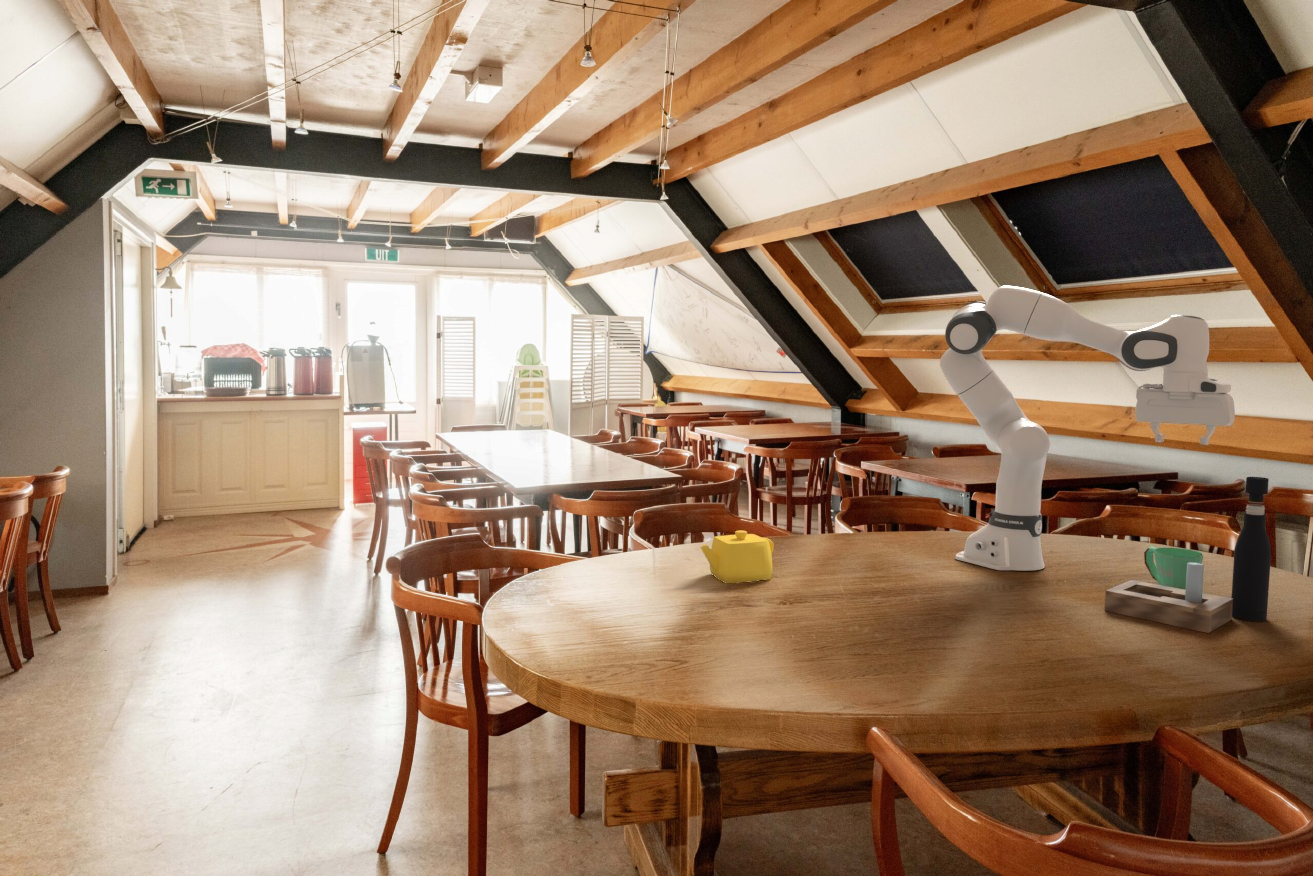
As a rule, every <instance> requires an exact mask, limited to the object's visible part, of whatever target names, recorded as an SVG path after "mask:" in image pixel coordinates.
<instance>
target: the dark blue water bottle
mask: <svg viewBox="0 0 1313 876" xmlns="http://www.w3.org/2000/svg"><path fill="white" fill-rule="evenodd" d="M1245 479H1246V480H1245V493H1246V494H1248V501H1247V503H1249V504H1246V506H1245V508H1246V509H1245V513H1243V514H1244V517H1243V526H1242V527H1241V530H1240V532H1239V533H1238V536H1237V539H1236V543H1235V546H1234V550H1233V551H1234V552H1233V567H1232V568H1233V569H1232V583H1231V595H1230V596H1231V597H1230V598H1232V599H1233V608H1232V618H1235V619H1237V620H1241V621H1246V622H1257V623H1258V622H1259V623H1261V622H1266V621H1267V618H1268V605H1269V604H1268V603H1269V602H1268V601H1269V590H1270V575H1271V574H1270V573H1271V562H1272V561H1271V559H1272V550H1271V543H1270V539H1269V535H1268V533H1267V530H1266V529H1267V528H1266V521H1267V520H1266V519H1267V515H1266V514H1265V510H1266V508H1265V505H1263V504H1264V495H1268V494H1269V482H1270V480H1269V478H1268V477H1262V476H1247V477H1246V478H1245Z"/></svg>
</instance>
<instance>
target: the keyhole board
mask: <svg viewBox="0 0 1313 876" xmlns="http://www.w3.org/2000/svg"><path fill="white" fill-rule="evenodd" d="M1185 591H1186V590H1184V589H1178V588H1173V587H1168V586H1162V585H1160V584H1157V583H1150V582H1145V581H1140V580H1134V579H1131V580H1128V581H1126V582H1124V583H1123V582H1122V583H1120V584H1118V585H1116V586H1114V587H1111V588H1108V589H1106V590H1105V596H1104V611H1105V612H1110V613H1113V614H1118V615H1123V616H1124V615H1125V616H1128V617H1131V618H1132V617H1134V618H1136V619H1140V620H1141V619H1142V620H1147V621H1150V622H1156V623H1161V624H1165V625H1170V626H1174V627H1179V628H1183V629H1188V630H1192V631H1197V632H1203V633H1207V634H1210V633H1211V632H1213V631H1215V630H1216V629H1218V628H1220V627H1222V626H1223V625H1225V624H1226V623H1228V622H1230V621H1231V620H1232V619H1233V617H1232V608H1233V599H1232V598H1231V597H1226V596H1223V595H1216V594H1209V593H1204V592H1202V604H1201V603H1196V602H1191V601H1186V600H1185Z"/></svg>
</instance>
